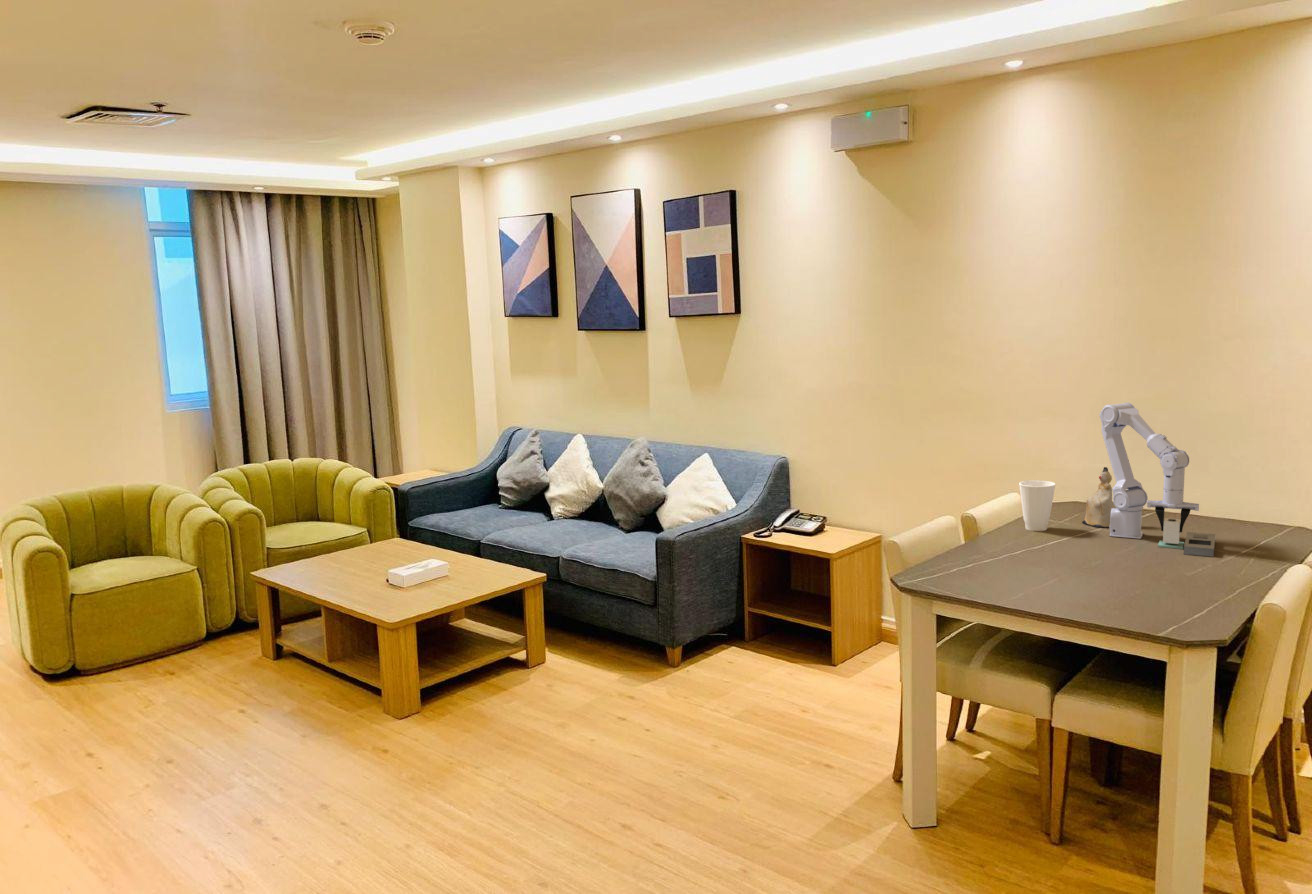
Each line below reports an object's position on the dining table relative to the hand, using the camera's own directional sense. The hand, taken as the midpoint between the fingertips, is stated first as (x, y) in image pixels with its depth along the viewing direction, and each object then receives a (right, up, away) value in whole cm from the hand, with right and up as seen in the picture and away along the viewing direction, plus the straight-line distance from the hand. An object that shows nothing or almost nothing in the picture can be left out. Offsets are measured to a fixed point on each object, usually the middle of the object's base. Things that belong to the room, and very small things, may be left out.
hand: (1171, 531), depth 317 cm
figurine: (-8, -1, +32) cm, 33 cm away
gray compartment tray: (+7, -5, -3) cm, 9 cm away
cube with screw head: (0, -3, 0) cm, 3 cm away
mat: (0, -5, +1) cm, 5 cm away
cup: (-32, -2, +29) cm, 43 cm away
